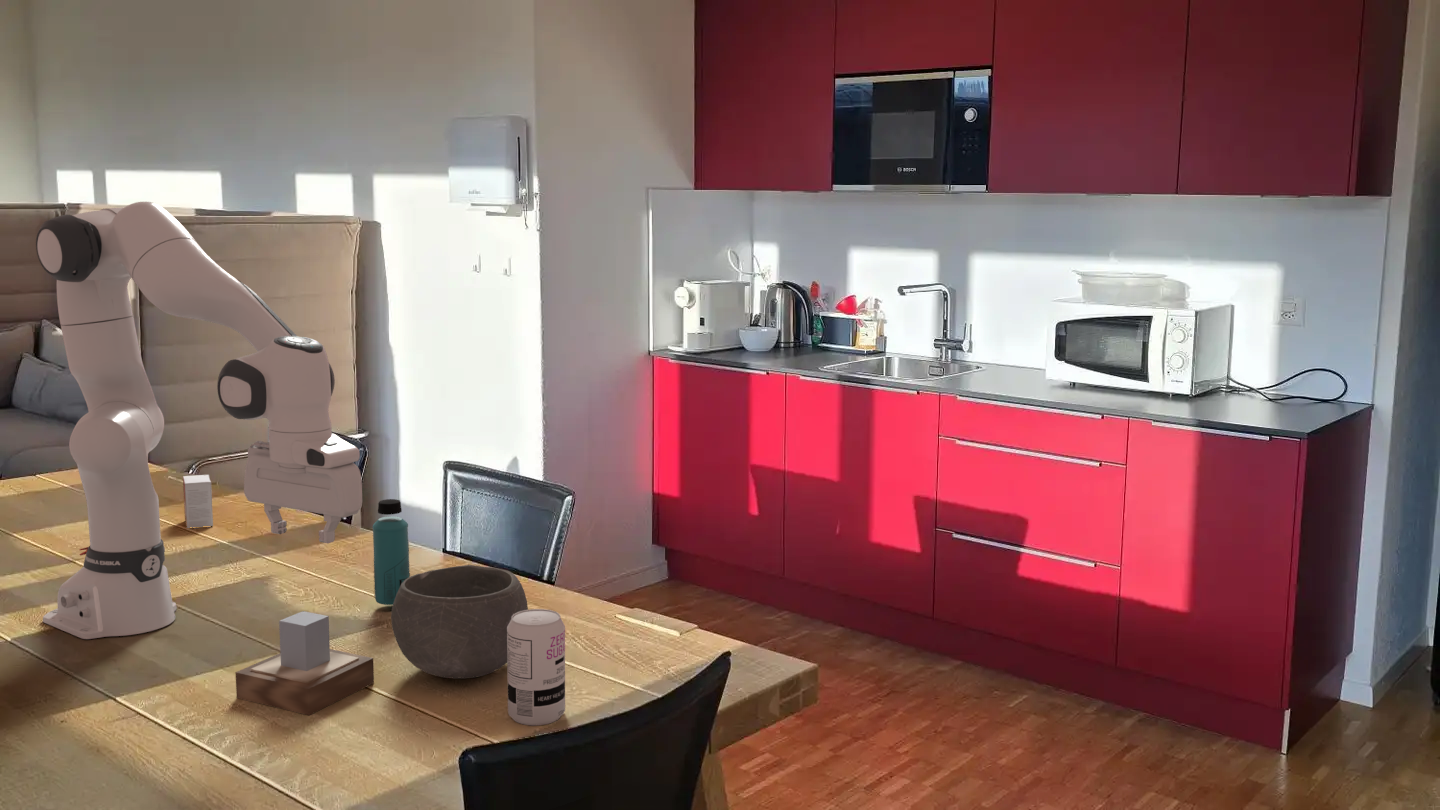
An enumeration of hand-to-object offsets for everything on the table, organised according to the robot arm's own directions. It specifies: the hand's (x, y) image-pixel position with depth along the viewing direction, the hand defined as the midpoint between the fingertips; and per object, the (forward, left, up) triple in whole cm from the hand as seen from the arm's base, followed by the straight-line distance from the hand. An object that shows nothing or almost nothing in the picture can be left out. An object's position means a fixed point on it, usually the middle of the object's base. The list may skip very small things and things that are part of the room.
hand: (302, 537), depth 190 cm
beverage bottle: (-13, +36, -24) cm, 45 cm away
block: (+1, -1, -19) cm, 19 cm away
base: (+1, -1, -23) cm, 23 cm away
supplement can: (+37, +7, -24) cm, 44 cm away
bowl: (+17, +16, -24) cm, 33 cm away
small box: (-89, +62, -24) cm, 111 cm away
